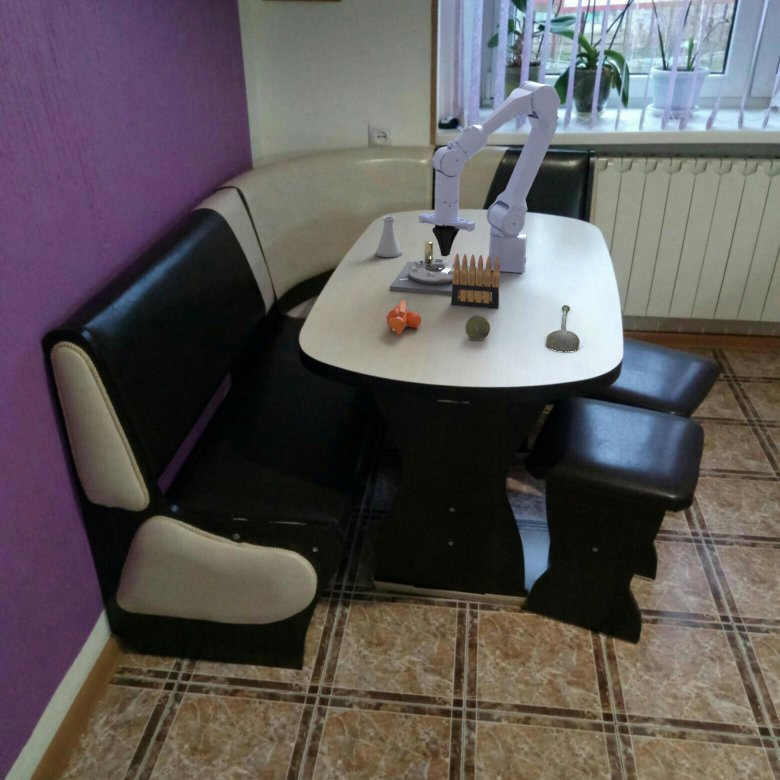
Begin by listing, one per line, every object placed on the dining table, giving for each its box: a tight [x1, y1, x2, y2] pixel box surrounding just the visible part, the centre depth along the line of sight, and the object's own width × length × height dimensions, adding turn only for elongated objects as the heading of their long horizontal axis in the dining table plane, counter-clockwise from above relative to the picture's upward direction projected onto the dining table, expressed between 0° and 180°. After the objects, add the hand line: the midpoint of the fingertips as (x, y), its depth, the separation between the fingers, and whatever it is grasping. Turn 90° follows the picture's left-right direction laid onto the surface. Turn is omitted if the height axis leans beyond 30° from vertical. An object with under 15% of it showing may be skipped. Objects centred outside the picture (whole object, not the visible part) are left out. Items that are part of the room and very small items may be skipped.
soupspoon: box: [545, 304, 581, 353], centre depth 152 cm, size 22×3×7 cm
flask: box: [375, 215, 403, 258], centre depth 194 cm, size 7×7×10 cm
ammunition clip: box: [450, 253, 501, 310], centre depth 161 cm, size 11×2×12 cm, turn 76°
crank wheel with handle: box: [409, 240, 462, 285], centre depth 177 cm, size 13×13×7 cm
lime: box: [464, 314, 491, 341], centre depth 148 cm, size 4×5×5 cm
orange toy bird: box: [386, 299, 422, 336], centre depth 154 cm, size 5×8×12 cm
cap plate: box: [389, 261, 478, 296], centre depth 179 cm, size 18×18×1 cm
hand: (445, 255), depth 180 cm, fingers closed
